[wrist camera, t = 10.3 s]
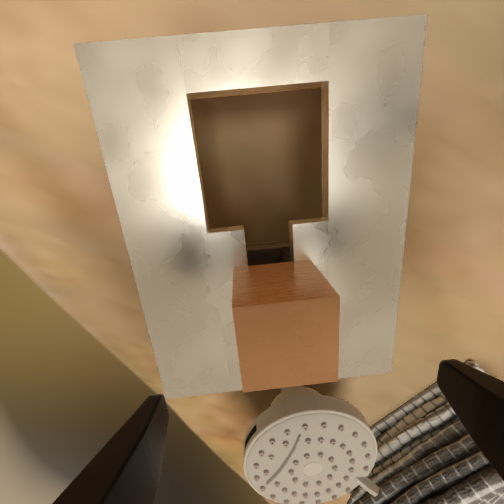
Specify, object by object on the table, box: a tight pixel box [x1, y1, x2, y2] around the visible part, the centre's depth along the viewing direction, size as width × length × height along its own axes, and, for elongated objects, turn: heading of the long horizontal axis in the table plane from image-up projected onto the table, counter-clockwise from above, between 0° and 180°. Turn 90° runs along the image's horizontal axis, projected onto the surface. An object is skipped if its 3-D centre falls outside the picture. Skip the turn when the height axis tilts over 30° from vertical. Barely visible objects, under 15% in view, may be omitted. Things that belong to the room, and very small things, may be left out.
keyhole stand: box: [74, 14, 428, 399], centre depth 16 cm, size 14×18×6 cm
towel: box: [347, 361, 504, 504], centre depth 24 cm, size 15×18×8 cm
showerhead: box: [243, 385, 379, 504], centre depth 20 cm, size 9×7×10 cm
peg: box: [232, 242, 340, 392], centre depth 14 cm, size 4×4×8 cm
